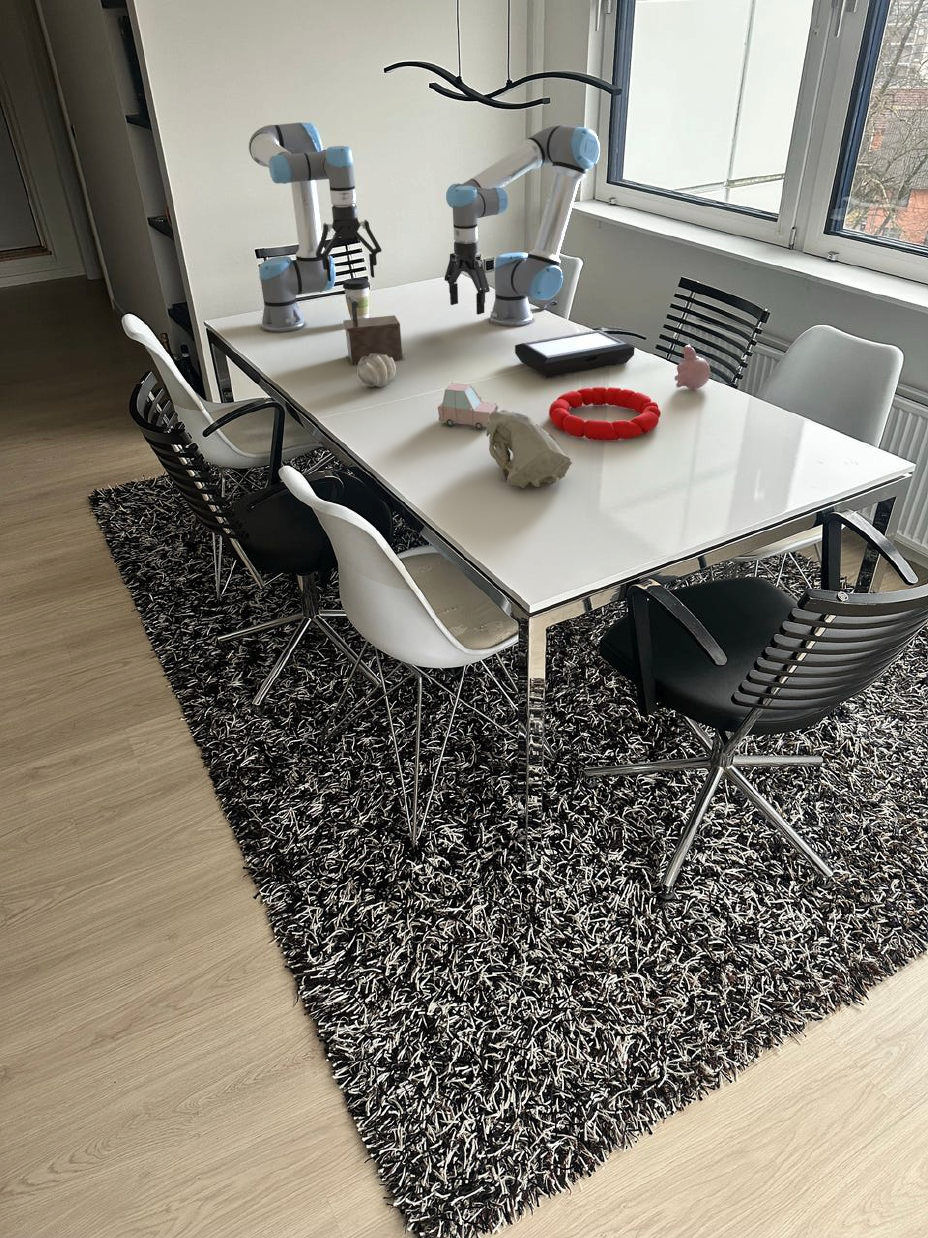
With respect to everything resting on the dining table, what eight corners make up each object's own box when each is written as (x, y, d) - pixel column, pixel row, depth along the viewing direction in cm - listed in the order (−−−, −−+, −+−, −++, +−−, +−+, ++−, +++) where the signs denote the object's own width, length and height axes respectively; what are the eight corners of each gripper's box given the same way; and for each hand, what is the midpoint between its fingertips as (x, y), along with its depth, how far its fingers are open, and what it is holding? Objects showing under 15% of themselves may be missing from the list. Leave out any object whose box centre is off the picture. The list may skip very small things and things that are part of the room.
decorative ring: (589, 435, 224) (684, 402, 234) (527, 398, 247) (617, 369, 256) (589, 461, 229) (683, 427, 238) (529, 422, 251) (617, 393, 260)
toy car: (488, 432, 240) (488, 396, 234) (436, 426, 244) (434, 390, 239) (499, 419, 247) (499, 384, 241) (448, 413, 252) (447, 379, 246)
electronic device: (544, 360, 268) (515, 342, 283) (544, 380, 271) (514, 361, 286) (634, 344, 278) (601, 327, 293) (633, 363, 282) (600, 346, 297)
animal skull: (496, 517, 219) (521, 479, 201) (463, 429, 225) (484, 384, 207) (557, 503, 225) (586, 465, 206) (523, 417, 231) (549, 373, 212)
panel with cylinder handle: (347, 331, 283) (344, 303, 278) (343, 323, 290) (340, 295, 285) (400, 326, 286) (398, 297, 281) (394, 318, 294) (392, 290, 288)
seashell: (349, 385, 273) (346, 353, 267) (393, 376, 278) (391, 344, 273) (363, 395, 265) (359, 362, 260) (408, 385, 271) (405, 353, 265)
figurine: (665, 387, 264) (669, 347, 257) (693, 380, 268) (698, 340, 261) (686, 396, 257) (690, 355, 250) (714, 388, 262) (720, 348, 255)
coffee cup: (372, 326, 323) (368, 283, 314) (345, 327, 323) (340, 284, 315) (374, 318, 331) (371, 276, 322) (348, 319, 331) (344, 277, 323)
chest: (352, 365, 289) (348, 331, 283) (348, 356, 297) (344, 323, 291) (402, 359, 292) (400, 326, 286) (397, 350, 300) (394, 318, 294)
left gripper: (303, 209, 261) (312, 284, 274) (387, 203, 266) (392, 277, 278) (301, 205, 268) (310, 278, 280) (382, 199, 272) (388, 271, 284)
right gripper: (432, 235, 287) (435, 302, 300) (482, 250, 271) (483, 319, 284) (450, 231, 291) (452, 297, 303) (500, 245, 275) (500, 314, 288)
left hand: (351, 278), depth 279 cm, fingers open, 13 cm apart
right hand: (467, 308), depth 294 cm, fingers open, 13 cm apart
